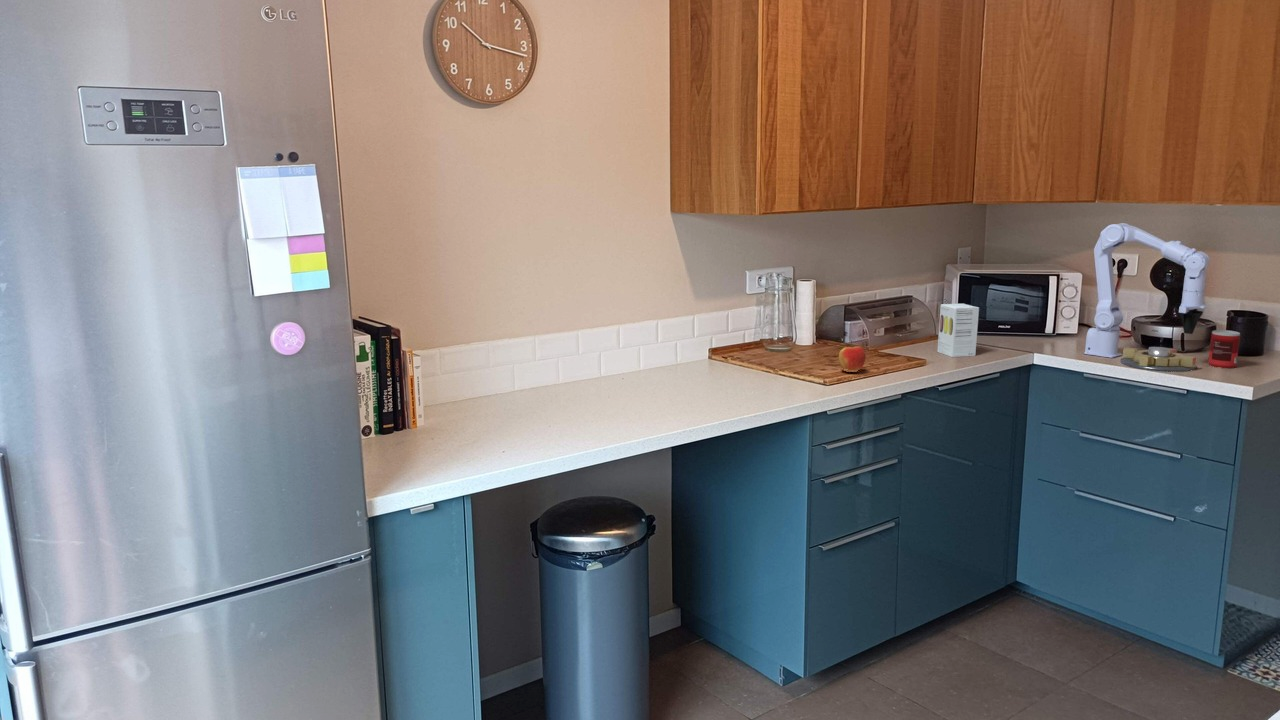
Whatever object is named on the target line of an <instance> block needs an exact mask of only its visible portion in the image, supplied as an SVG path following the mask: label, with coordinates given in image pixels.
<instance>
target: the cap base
mask: <svg viewBox="0 0 1280 720" xmlns="http://www.w3.org/2000/svg"><path fill="white" fill-rule="evenodd" d="M1169 348H1170V347H1165V346H1164V347H1162V346H1149V347H1148V349H1147V350H1148V355H1151V356H1154V357H1169V355H1170V349H1169ZM1120 363H1121V364H1122V365H1124V366H1127V367H1131V368H1134V369H1140V370H1145V369H1146V370H1147V371H1153V370H1156V372H1167V371H1168V373H1169V372H1171V371H1172V372H1171V373H1173V371H1174V373H1175V371H1176V373H1178V372H1179V373H1180V372H1181V373H1182V372H1190V371H1191V370H1192V371H1195V368H1197V366H1196V364H1195V367H1185V366H1155V365H1151V366H1148V367H1146V366H1140V365H1139V363H1138V362H1134V361H1133V360H1132V359H1131V358H1125V357H1122V358H1121V359H1120Z"/></svg>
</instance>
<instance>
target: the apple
mask: <svg viewBox="0 0 1280 720" xmlns="http://www.w3.org/2000/svg"><path fill="white" fill-rule="evenodd" d="M850 342H851V343H850V344H853V341H852V340H850ZM838 362H839V366H840V368H841V369H842V368H843V369H848V370H859V369H863V367H864V365H865V363H866V352H865V350H864V348H863V347H862V346H860V345H856V346H845V347H843V348H842V349H841V350H840V351H839V354H838ZM843 369H842V370H843Z"/></svg>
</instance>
